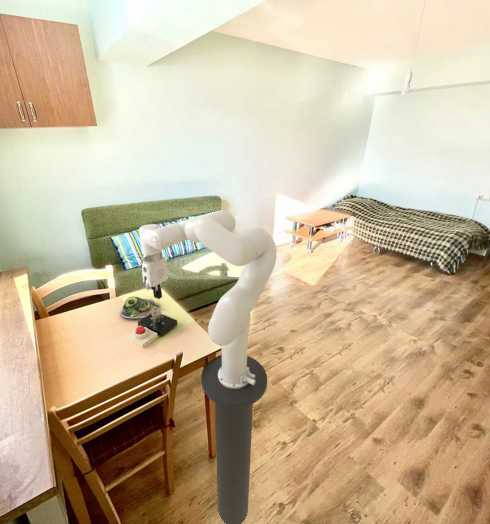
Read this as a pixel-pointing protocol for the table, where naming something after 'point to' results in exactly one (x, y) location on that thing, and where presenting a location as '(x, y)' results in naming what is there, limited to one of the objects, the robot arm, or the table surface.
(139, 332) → the igniter button
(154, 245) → the robot arm
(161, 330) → the hob panel
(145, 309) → the salad plate
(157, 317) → the stove knob
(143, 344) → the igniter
